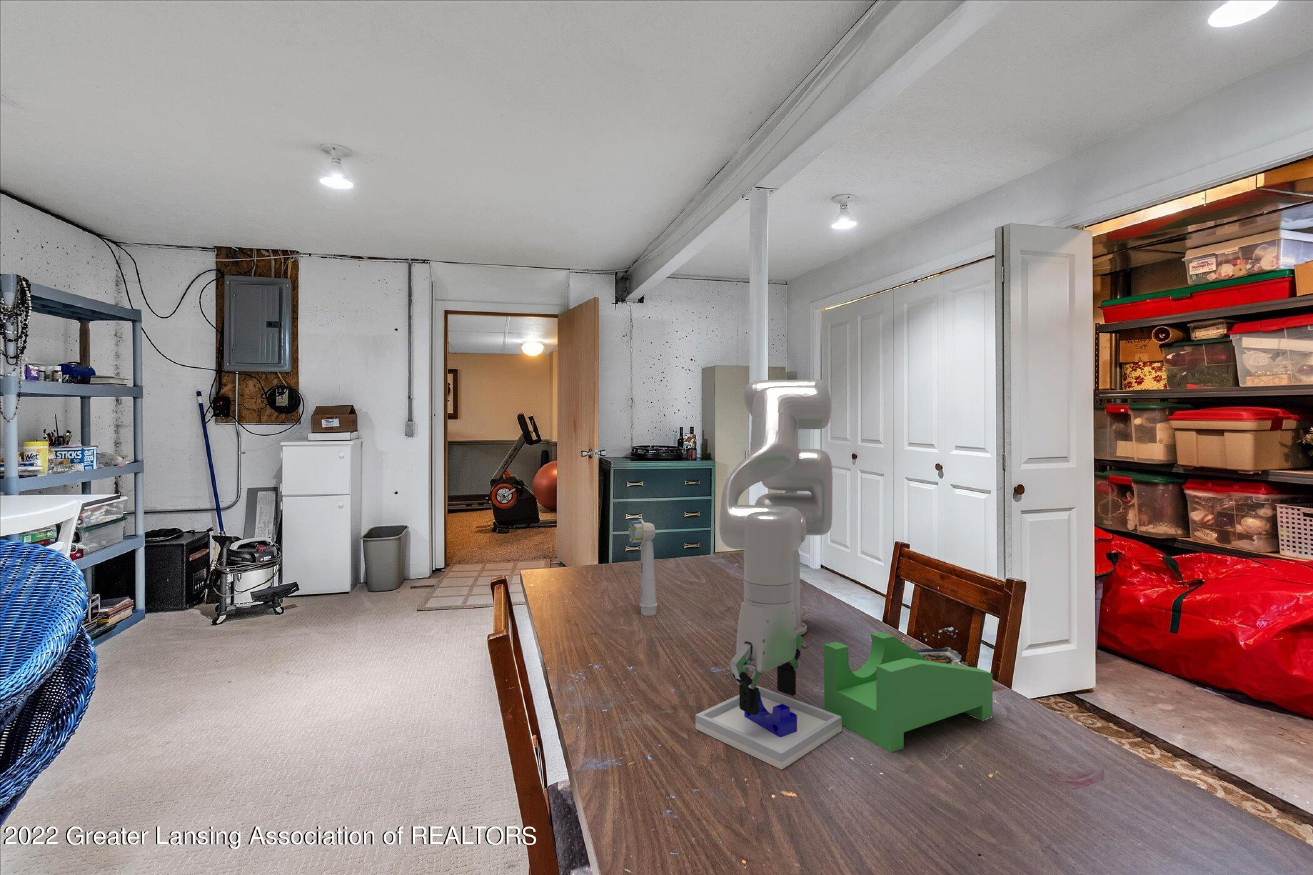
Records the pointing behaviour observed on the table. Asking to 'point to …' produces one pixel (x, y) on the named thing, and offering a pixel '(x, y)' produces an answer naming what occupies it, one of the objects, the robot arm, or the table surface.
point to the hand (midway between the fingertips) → (768, 701)
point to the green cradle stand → (900, 691)
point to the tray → (760, 742)
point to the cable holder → (775, 719)
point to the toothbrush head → (645, 564)
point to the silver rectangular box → (950, 655)
